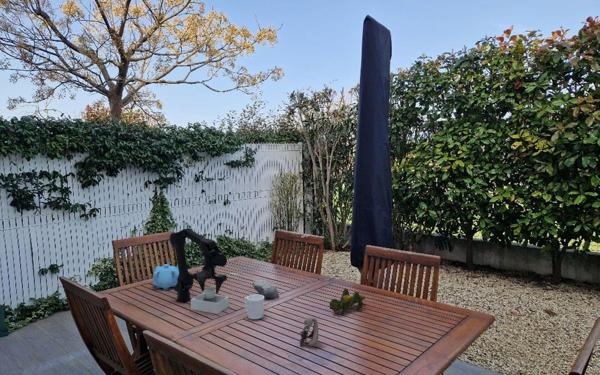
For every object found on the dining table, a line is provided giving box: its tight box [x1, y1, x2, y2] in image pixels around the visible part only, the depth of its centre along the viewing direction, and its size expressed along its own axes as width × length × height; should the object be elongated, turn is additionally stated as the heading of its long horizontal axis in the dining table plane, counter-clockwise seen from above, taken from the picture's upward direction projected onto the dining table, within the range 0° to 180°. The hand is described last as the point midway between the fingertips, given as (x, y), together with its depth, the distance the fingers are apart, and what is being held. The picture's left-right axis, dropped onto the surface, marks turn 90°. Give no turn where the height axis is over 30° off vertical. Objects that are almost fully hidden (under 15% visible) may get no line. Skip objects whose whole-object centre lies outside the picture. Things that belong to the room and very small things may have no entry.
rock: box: [252, 279, 279, 300], centre depth 225 cm, size 11×17×10 cm, turn 49°
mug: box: [243, 293, 265, 321], centre depth 194 cm, size 11×9×10 cm
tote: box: [190, 292, 230, 315], centre depth 207 cm, size 17×11×6 cm, turn 67°
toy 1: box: [299, 314, 319, 348], centre depth 164 cm, size 8×8×14 cm
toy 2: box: [329, 288, 366, 316], centre depth 204 cm, size 10×24×10 cm, turn 134°
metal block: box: [203, 296, 216, 303], centre depth 207 cm, size 5×5×5 cm
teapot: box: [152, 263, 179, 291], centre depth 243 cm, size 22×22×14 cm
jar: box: [204, 286, 216, 299], centre depth 206 cm, size 5×5×5 cm
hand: (210, 292), depth 206 cm, fingers open, 9 cm apart
